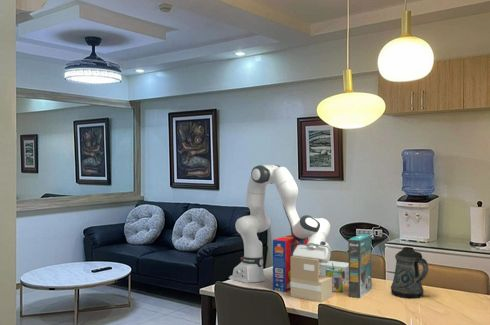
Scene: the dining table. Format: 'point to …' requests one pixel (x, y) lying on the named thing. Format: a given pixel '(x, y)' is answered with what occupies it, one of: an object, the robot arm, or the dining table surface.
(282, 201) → the robot arm
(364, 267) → the cake mix box
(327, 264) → the supplement box
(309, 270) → the flap
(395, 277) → the beer stein
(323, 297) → the carton
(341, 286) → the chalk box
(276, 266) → the pasta box
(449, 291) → the dining table surface
